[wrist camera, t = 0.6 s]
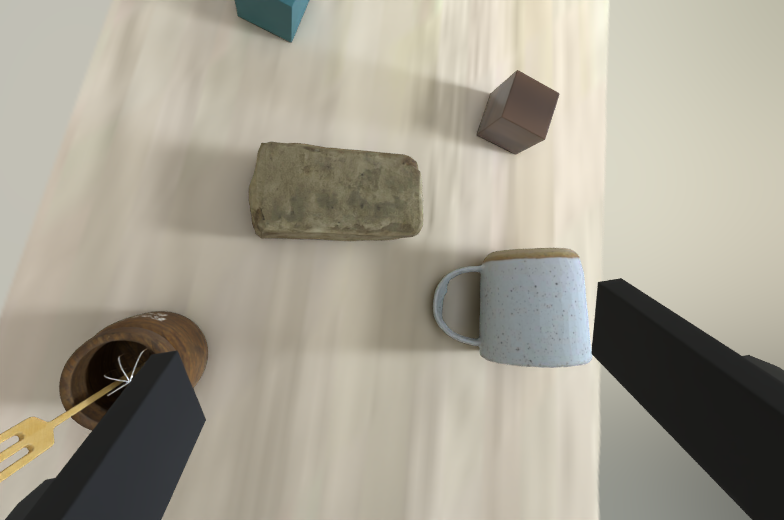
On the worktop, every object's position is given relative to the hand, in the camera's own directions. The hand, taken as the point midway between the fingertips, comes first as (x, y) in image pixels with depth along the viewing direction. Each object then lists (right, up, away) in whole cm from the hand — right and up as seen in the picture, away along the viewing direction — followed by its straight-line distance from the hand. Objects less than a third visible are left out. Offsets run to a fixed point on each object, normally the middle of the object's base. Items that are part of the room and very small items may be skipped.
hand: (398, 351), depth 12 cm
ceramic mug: (+8, -1, +20) cm, 22 cm away
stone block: (-5, +7, +17) cm, 19 cm away
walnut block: (+9, +14, +21) cm, 27 cm away
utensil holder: (-16, -3, +14) cm, 21 cm away
